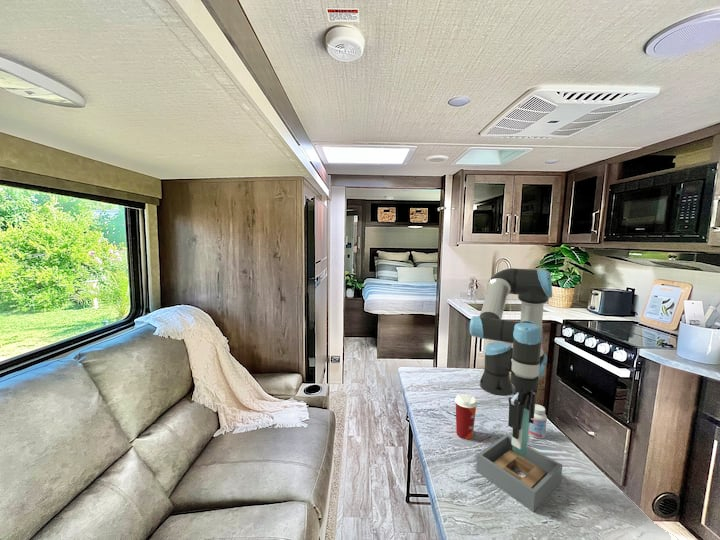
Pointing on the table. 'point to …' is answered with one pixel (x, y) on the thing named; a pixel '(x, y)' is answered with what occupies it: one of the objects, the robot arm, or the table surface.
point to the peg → (523, 434)
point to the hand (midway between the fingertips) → (519, 443)
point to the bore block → (521, 468)
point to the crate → (511, 483)
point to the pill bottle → (538, 422)
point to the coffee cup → (465, 415)
